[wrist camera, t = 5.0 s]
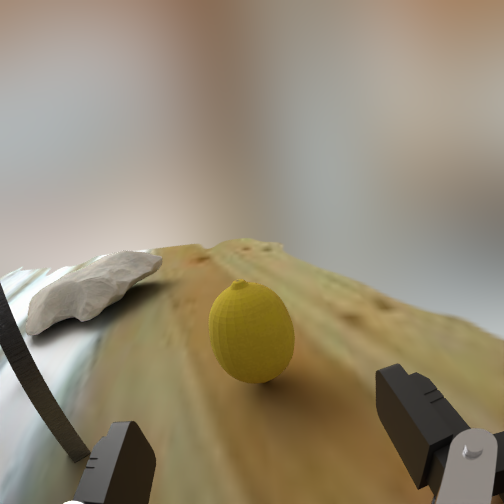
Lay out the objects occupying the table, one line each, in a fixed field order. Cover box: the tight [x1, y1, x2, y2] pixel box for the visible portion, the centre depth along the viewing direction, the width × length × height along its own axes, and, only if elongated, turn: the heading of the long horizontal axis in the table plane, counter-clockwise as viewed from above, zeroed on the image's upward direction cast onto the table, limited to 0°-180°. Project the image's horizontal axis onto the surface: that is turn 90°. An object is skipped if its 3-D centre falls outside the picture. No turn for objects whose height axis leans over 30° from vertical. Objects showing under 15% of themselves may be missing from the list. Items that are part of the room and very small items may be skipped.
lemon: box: [209, 279, 295, 383], centre depth 21 cm, size 6×6×8 cm
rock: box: [26, 251, 162, 335], centre depth 46 cm, size 19×7×25 cm
